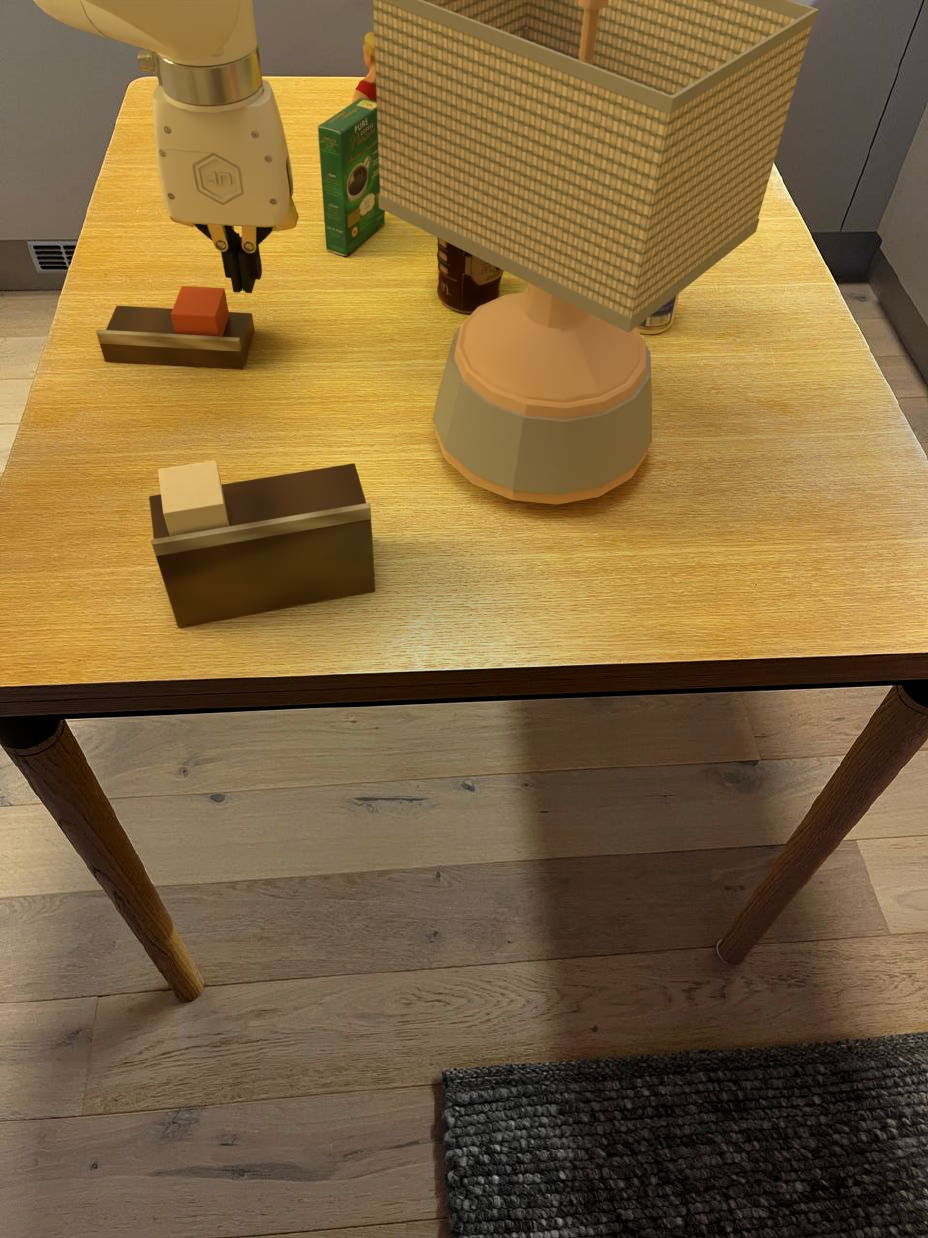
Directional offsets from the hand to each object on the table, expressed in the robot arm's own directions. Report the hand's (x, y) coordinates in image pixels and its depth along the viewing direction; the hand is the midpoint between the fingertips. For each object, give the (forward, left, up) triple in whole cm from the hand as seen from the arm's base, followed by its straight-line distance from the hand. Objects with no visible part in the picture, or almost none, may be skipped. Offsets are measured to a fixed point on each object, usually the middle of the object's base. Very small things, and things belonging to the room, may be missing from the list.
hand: (245, 283), depth 90 cm
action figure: (+33, +12, -7) cm, 36 cm away
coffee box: (+21, +5, -7) cm, 23 cm away
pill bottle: (+28, -27, -7) cm, 39 cm away
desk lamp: (+6, -29, -7) cm, 30 cm away
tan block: (-24, -19, +1) cm, 30 cm away
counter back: (-4, +6, -7) cm, 10 cm away
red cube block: (-3, +4, -5) cm, 7 cm away
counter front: (-20, -21, -7) cm, 30 cm away
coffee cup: (+20, -11, -7) cm, 24 cm away
